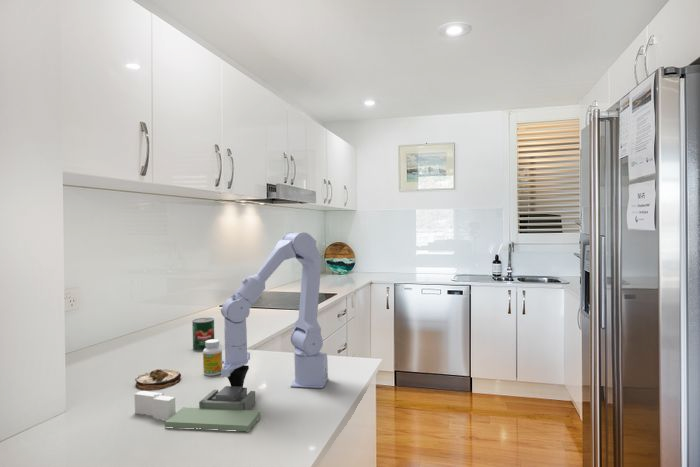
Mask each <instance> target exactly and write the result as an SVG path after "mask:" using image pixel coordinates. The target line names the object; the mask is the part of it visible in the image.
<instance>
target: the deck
mask: <svg viewBox="0 0 700 467" xmlns="http://www.w3.org/2000/svg"><path fill="white" fill-rule="evenodd" d="M218 392H219V389H213V390H212V391H210V392H209V393H208V394H207V395H206V396H205V397H203V398H202V399H200V401H199V402H198V406H199V407H186V406H185V407H182V408H181V409H179V410H178V411H176V413H175V414H174V415H173V416H172V417H170V418H169V419H168V420H167V421H165V420H164V428H165V427H173V428H194V429H196V428H198V429H199V428H201V429H218V430H236V431H246V432H245V433H248V432H247V431H249V430H250V429H252V428H253V427H254V426H255V424H256V423H257V422H258V421H257V419H258V418H259V417H260V416H261V410H251V409H252V408H253V406H254V405H255V404H256V390H250V391H249V392H247V395H246V396H245V397H244V398H243V400H242V401H241V402H236V401H212V398H213V397H214V396H216V394H217V393H218ZM254 403H255V404H254ZM253 404H254V405H253ZM260 418H261V417H260ZM260 418H259V419H260ZM259 419H258V420H259ZM256 421H257V422H256ZM255 422H256V423H255ZM254 423H255V424H254ZM253 425H254V426H253ZM252 426H253V427H252ZM251 427H252V428H251ZM250 431H251V430H250ZM250 431H249V432H250Z"/></svg>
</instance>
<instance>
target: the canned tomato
mask: <svg viewBox="0 0 700 467" xmlns="http://www.w3.org/2000/svg"><path fill="white" fill-rule="evenodd" d="M191 322H192V324H191V325H192V350H193V352H198V353H199V352H201V353H202V352H203V350H204V349H205V348H206V346H205V341H207V340H211V339H215V318H213V317H199V318H195V319H192V321H191Z"/></svg>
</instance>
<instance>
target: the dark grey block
mask: <svg viewBox="0 0 700 467" xmlns="http://www.w3.org/2000/svg"><path fill="white" fill-rule="evenodd" d="M247 394H248V387H243V388H242V387H237V386H231V385H229V386H228V385H225V386H224V387H223V388H222V389H220V390H219V391H218V393H217V394H216V396H214V397H213V398H212V401H236V402H241V401H242V400H243V398H244V397H245V396H246V395H247Z"/></svg>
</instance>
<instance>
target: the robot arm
mask: <svg viewBox="0 0 700 467" xmlns="http://www.w3.org/2000/svg"><path fill="white" fill-rule="evenodd" d="M292 258H293V259H294V258H296V260H297V262H299V263H300V264H301V266H302V267H301V268H302V269H301V281H300V282H301V284H300V295H299V296H300V297H299V307H298V318H297V320H296V321H295V322H294V328H293V331H292V332H291V335H290V342H291V344H292V346H293V347H294V351H293V352H294V354H293V356H294V380H293V382H292V383H291V384H290V387H291V388H311V389H312V388H314V389H323V388H325V386H326V383H327V382H328V380H329V377H328V376H329V372H328V369H329V368H328V367H329V366H328V355H327V354H328V353H325V352H320V351H322V349H323V346H324V344H323V343H324V340H323V337H322V328H321V326H320V324H319V321H318V310H319V298H320V283H321V271H322V270H321V269H322V258H321V255H320V252H319V249H318V246H317V240H316V239H315V237H313V236H312V235H311V234H309V233H308V232H293V231H291V232H287V233H285V234H284V235H283V236H282V237H281V239H280V240H278V241H277V244H275V246H274V248H273V249H272V251H271V253H270V254H269V255H268V256H267V258H266V259H265V261H264V262H263V263H262V264H261V266H260V267H259V269H258V271H257V272H256V273H255V274H253V275H248V276H247V277H243V279H242V280H241V285H240V286H239V287H238V288H237V289H236V291H235V292H234V293H233V292H232V293H231V294H230V297H231V298H229V299H226V300H225V301H224V303H223V304H222V305H221V309H220V313H221V316H222V317H224V328H223V329H224V358H222V361H221V363H222V369H221V373H220V376H221V377H222V378H223V377H225V378H227V379H228V381H229V384H230V385H229V386H237V387H242V388H244V383H245V379H246V376H247V373H248V372H249V368H250V367H249V365H247V364H248V363H249V360H251V353H250V352H248V338H247V337H248V336H247V335H248V334H247V332H248V331H247V318H248V317H249V315H250V311H251V310H250V309H251V308H252V306H253V305H254V304H255V303H256V301H257V300H258V299H259V297H260V296H261V294H262V293H263V292H264V291H265V290H266V281H267V280H268V279H269V278H271V275H272V274H274V272H276V270H277V269H278V268H279V266H280V265H281V264H282V263H283V262H284V261H285V260H286V261H287V260H289V259H292Z"/></svg>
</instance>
